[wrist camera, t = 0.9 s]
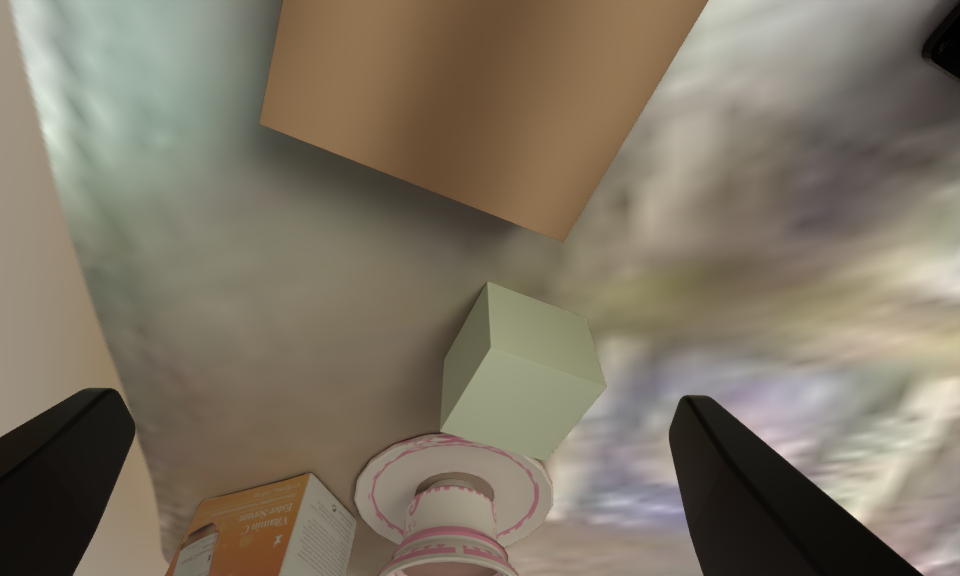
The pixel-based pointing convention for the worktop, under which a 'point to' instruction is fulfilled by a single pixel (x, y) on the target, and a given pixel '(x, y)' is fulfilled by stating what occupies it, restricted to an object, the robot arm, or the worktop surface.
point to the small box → (269, 533)
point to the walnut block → (476, 92)
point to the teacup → (452, 505)
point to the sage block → (519, 374)
